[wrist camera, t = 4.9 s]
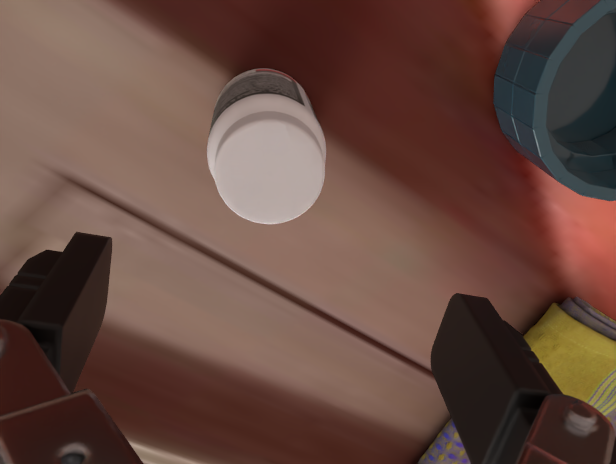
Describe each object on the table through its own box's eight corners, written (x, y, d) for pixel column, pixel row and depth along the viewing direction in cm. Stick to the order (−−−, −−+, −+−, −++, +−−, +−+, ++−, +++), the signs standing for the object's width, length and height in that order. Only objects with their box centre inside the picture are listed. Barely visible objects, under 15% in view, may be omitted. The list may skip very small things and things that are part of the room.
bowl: (464, 147, 30) (502, 181, 26) (530, -47, 27) (587, -47, 22) (623, 178, 32) (685, 215, 27) (705, -1, 28) (792, 7, 24)
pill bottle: (193, 115, 28) (172, 173, 21) (264, 45, 27) (269, 79, 20) (263, 181, 30) (267, 257, 22) (332, 118, 29) (360, 175, 21)
